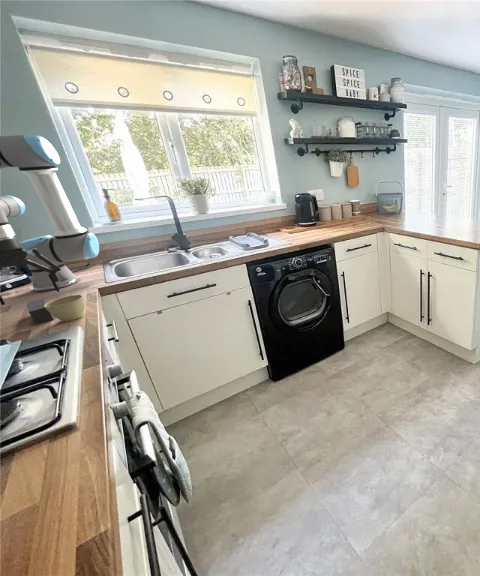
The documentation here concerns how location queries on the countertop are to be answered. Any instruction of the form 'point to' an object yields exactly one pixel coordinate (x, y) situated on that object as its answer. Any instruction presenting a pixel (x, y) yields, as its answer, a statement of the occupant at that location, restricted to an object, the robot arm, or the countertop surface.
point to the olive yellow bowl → (66, 307)
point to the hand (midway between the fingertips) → (31, 297)
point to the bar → (39, 311)
